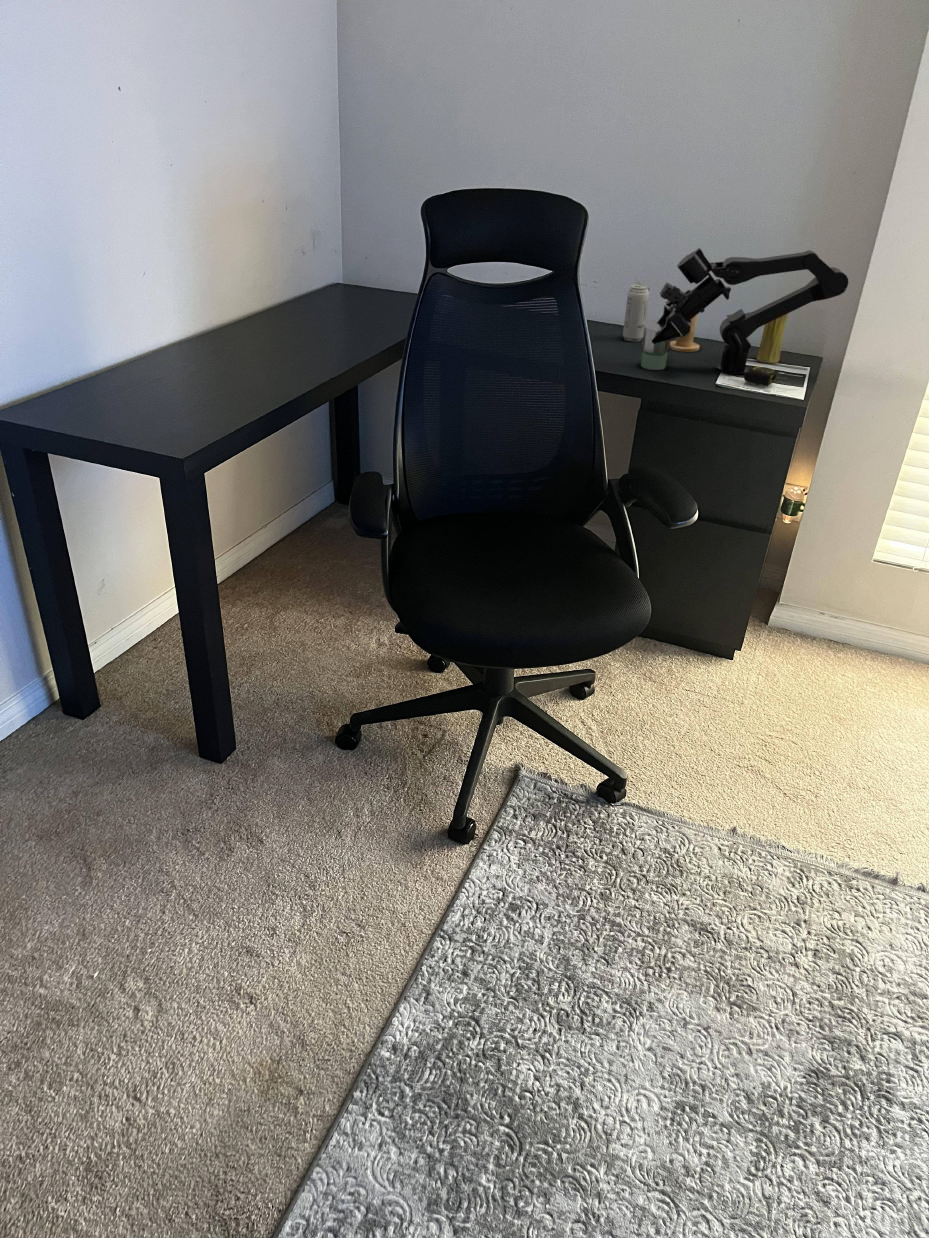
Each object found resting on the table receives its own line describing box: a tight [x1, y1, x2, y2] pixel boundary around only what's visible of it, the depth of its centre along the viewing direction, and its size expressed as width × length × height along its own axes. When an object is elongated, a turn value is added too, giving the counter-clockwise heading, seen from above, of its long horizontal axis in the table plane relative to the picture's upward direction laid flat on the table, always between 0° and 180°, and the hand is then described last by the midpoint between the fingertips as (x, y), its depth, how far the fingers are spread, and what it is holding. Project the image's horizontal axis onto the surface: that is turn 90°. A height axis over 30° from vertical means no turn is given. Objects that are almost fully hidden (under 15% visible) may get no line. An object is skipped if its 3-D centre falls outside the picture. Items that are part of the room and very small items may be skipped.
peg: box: [669, 314, 701, 353], centre depth 252 cm, size 9×9×10 cm
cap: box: [641, 323, 672, 354], centre depth 234 cm, size 7×7×6 cm
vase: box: [756, 313, 789, 364], centre depth 242 cm, size 6×6×14 cm
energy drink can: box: [622, 284, 650, 342], centre depth 257 cm, size 6×6×15 cm
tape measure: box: [743, 366, 777, 387], centre depth 226 cm, size 7×7×4 cm
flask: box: [640, 350, 668, 371], centre depth 236 cm, size 7×7×10 cm
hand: (651, 337), depth 234 cm, fingers open, 9 cm apart
